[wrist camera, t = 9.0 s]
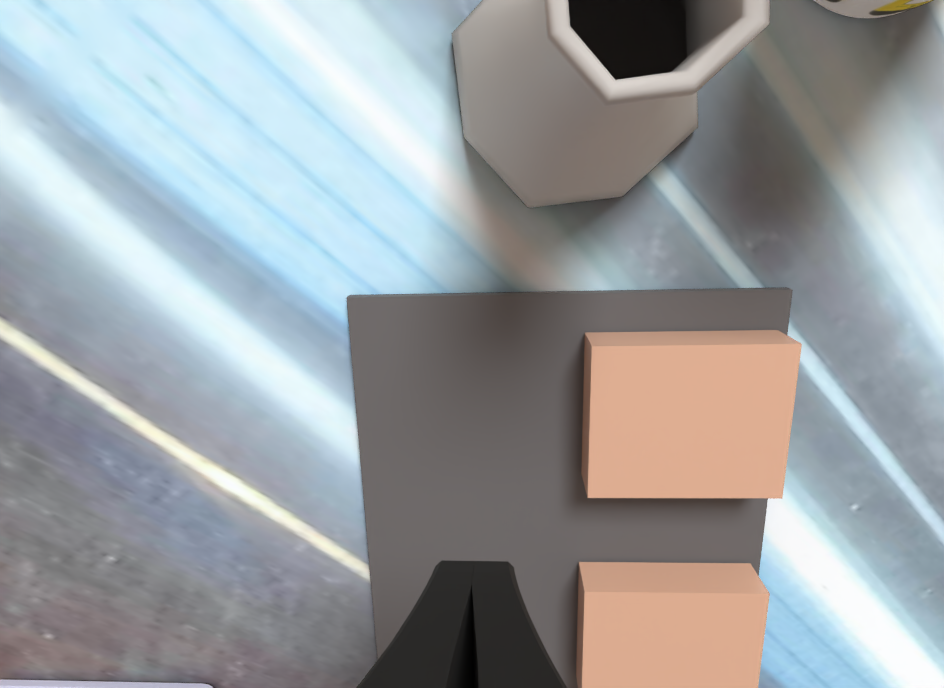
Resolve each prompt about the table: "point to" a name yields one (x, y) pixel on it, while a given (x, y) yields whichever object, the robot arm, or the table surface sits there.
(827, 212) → the table surface
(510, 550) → the mat
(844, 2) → the supplement bottle
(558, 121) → the flask
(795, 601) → the table surface
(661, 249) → the table surface
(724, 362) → the tile
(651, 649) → the tile
